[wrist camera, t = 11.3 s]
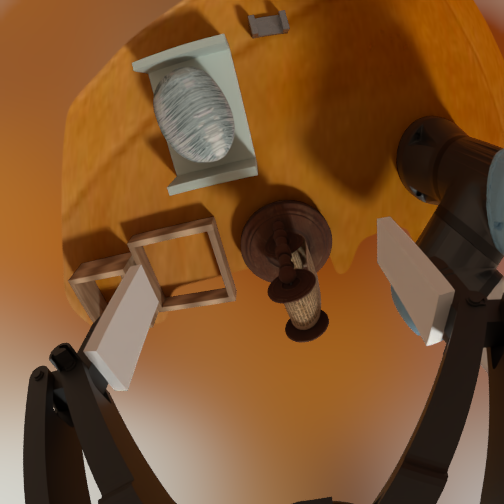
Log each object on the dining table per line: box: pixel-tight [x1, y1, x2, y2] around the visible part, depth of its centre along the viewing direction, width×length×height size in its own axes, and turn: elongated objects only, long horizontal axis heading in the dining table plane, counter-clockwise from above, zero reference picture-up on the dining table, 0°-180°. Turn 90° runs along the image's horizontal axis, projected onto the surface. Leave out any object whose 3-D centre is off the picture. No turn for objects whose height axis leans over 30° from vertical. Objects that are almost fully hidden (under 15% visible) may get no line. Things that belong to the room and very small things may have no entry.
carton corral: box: [68, 252, 159, 328], centre depth 52 cm, size 13×13×6 cm
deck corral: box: [127, 217, 236, 312], centre depth 50 cm, size 15×15×3 cm
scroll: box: [241, 200, 332, 342], centre depth 41 cm, size 15×15×20 cm
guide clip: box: [248, 10, 290, 38], centre depth 31 cm, size 5×3×3 cm, turn 102°
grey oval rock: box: [153, 67, 235, 163], centre depth 35 cm, size 14×10×10 cm
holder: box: [132, 34, 258, 195], centre depth 36 cm, size 12×19×7 cm, turn 12°
